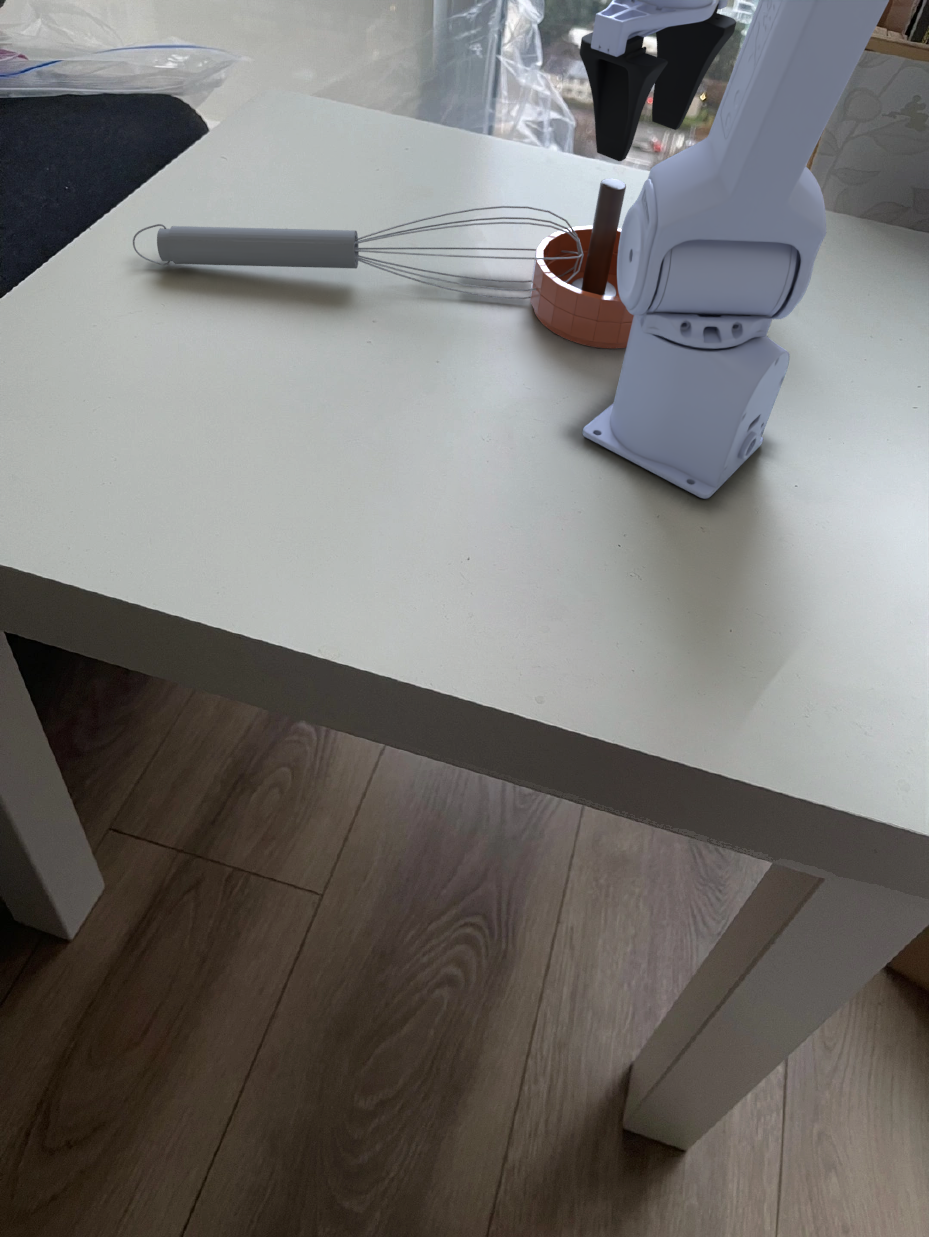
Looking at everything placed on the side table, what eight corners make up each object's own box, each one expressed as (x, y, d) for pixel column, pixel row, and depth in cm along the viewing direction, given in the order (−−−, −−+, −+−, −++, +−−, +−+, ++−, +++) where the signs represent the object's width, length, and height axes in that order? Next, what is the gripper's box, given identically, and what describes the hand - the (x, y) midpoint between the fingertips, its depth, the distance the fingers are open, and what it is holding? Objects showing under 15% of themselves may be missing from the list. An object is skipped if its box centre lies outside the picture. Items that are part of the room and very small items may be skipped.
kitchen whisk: (145, 239, 74) (130, 157, 70) (573, 278, 76) (587, 200, 71) (124, 280, 70) (107, 196, 66) (577, 320, 72) (592, 240, 67)
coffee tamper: (615, 314, 71) (640, 198, 65) (568, 309, 71) (588, 193, 65) (614, 289, 74) (637, 175, 67) (567, 284, 74) (587, 170, 67)
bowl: (695, 310, 74) (708, 262, 71) (621, 368, 68) (632, 319, 65) (580, 259, 78) (588, 211, 75) (501, 310, 72) (506, 260, 69)
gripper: (687, -121, 64) (643, 95, 74) (565, -86, 56) (536, 151, 66) (782, -96, 61) (723, 124, 71) (669, -56, 53) (621, 186, 63)
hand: (639, 139), depth 69 cm, fingers open, 7 cm apart
